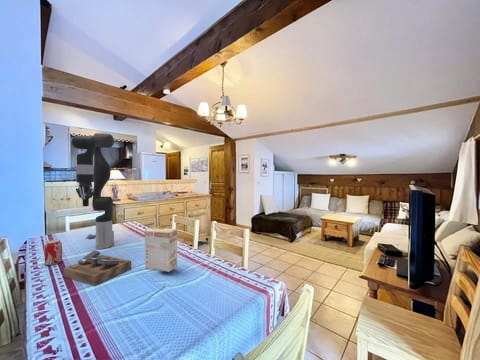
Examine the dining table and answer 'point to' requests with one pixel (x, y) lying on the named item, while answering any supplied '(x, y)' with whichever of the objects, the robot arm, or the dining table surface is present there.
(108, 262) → the rocker
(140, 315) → the dining table surface
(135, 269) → the dining table surface
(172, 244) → the coffeecake box
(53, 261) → the soda can
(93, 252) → the rocker
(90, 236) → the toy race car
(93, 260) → the rocker
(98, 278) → the switch unit
